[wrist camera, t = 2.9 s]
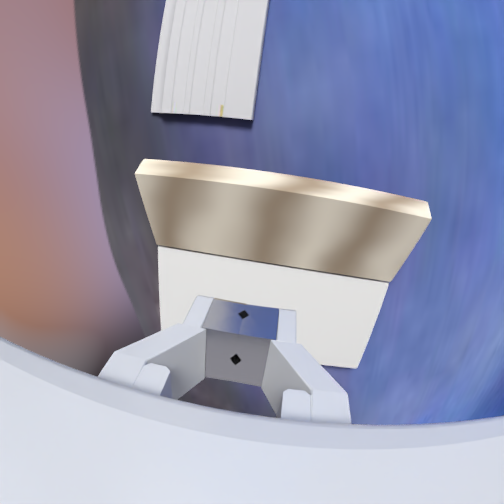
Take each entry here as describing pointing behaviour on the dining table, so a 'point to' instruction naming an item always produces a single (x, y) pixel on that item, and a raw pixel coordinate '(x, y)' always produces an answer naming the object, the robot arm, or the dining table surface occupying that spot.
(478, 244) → the dining table surface
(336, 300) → the white board
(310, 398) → the robot arm
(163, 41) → the baseboard
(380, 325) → the dining table surface
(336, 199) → the birch plank
